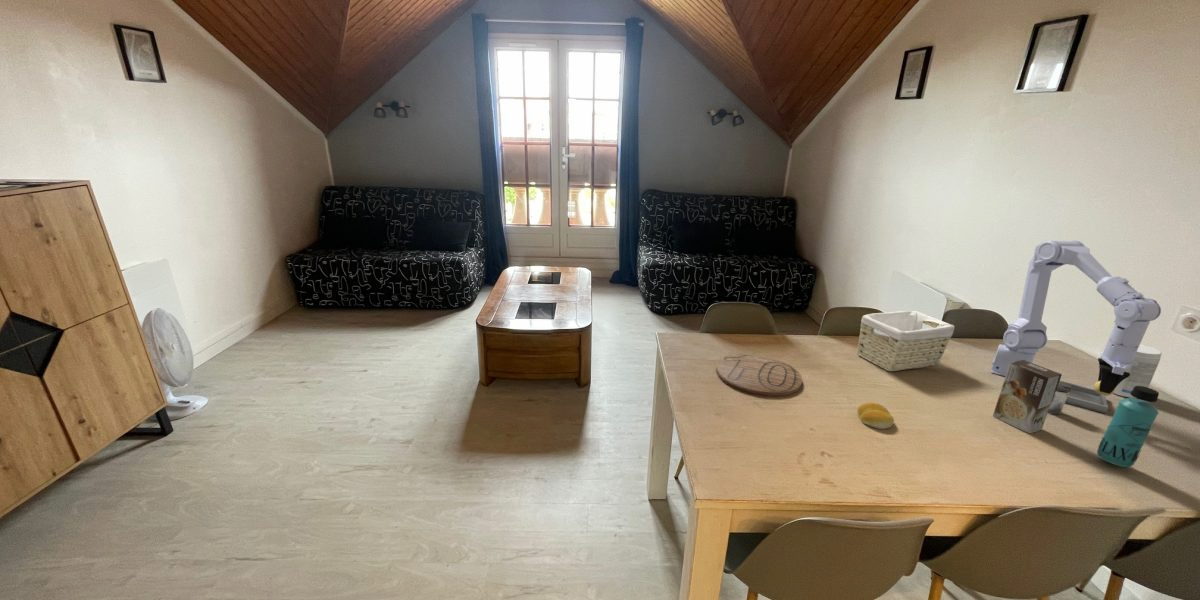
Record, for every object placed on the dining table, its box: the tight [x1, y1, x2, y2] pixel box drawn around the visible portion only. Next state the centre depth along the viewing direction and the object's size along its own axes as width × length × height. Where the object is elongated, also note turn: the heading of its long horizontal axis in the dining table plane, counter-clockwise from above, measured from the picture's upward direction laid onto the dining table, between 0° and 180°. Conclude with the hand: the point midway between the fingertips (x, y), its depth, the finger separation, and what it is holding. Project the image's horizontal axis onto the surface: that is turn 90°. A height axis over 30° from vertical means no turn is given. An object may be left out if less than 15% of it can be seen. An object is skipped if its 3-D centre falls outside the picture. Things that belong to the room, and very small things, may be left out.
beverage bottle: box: [1096, 386, 1160, 468], centre depth 114 cm, size 6×7×20 cm
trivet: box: [715, 353, 803, 398], centre depth 152 cm, size 25×25×2 cm
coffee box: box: [992, 360, 1062, 434], centre depth 130 cm, size 9×6×16 cm
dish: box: [1060, 380, 1109, 415], centre depth 147 cm, size 12×12×2 cm
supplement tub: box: [1113, 343, 1163, 399], centre depth 150 cm, size 10×10×15 cm
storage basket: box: [856, 310, 955, 372], centre depth 165 cm, size 24×16×15 cm
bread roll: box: [856, 402, 895, 430], centre depth 131 cm, size 8×9×4 cm
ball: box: [1093, 380, 1115, 397], centre depth 134 cm, size 4×4×4 cm
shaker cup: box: [1048, 380, 1072, 416], centre depth 138 cm, size 5×5×8 cm
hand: (1103, 389), depth 135 cm, fingers closed on ball, 4 cm apart
